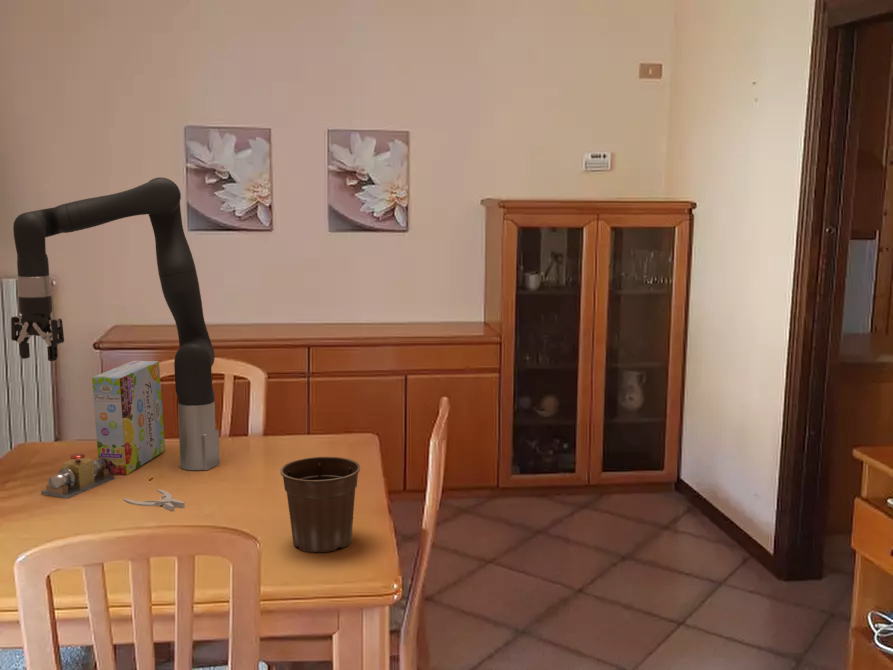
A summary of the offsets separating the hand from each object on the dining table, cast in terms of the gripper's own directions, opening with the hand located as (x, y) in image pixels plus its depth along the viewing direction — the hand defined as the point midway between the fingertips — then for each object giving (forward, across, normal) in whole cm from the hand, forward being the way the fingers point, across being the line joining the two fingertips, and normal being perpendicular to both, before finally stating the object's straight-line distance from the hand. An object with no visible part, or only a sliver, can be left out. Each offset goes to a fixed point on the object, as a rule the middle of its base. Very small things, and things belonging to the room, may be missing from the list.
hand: (38, 359), depth 228 cm
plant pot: (+30, -85, +13) cm, 91 cm away
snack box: (+30, -12, -18) cm, 37 cm away
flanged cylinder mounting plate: (+30, -13, +3) cm, 33 cm away
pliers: (+31, -38, +5) cm, 50 cm away
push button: (+29, -13, +3) cm, 32 cm away
